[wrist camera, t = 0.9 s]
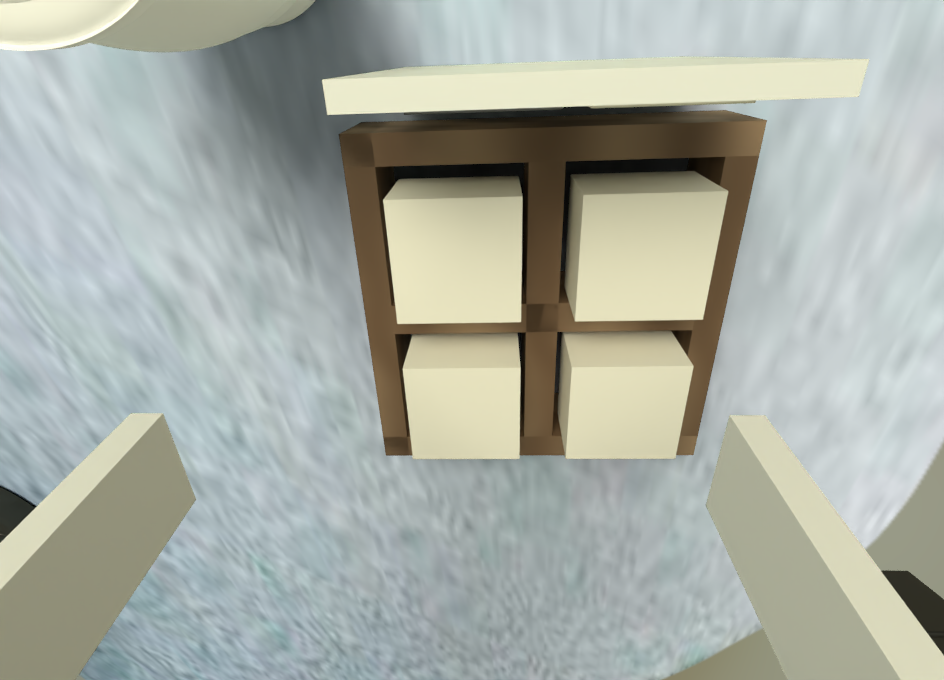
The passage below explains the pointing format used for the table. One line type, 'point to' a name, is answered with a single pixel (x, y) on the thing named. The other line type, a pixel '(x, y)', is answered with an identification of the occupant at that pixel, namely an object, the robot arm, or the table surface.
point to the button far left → (463, 395)
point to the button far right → (622, 394)
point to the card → (592, 84)
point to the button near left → (456, 249)
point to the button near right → (641, 245)
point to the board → (542, 240)
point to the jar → (138, 22)
